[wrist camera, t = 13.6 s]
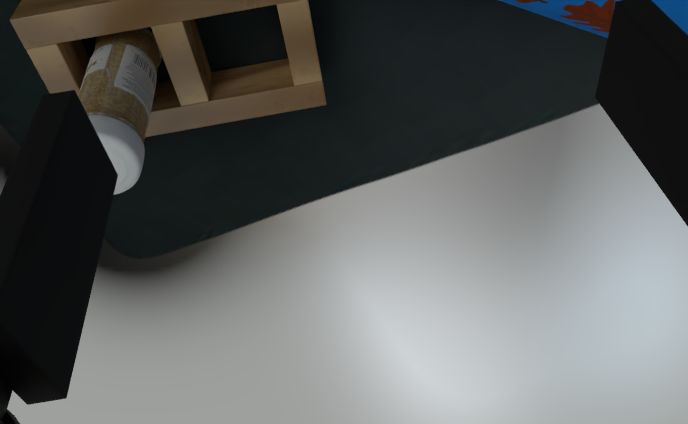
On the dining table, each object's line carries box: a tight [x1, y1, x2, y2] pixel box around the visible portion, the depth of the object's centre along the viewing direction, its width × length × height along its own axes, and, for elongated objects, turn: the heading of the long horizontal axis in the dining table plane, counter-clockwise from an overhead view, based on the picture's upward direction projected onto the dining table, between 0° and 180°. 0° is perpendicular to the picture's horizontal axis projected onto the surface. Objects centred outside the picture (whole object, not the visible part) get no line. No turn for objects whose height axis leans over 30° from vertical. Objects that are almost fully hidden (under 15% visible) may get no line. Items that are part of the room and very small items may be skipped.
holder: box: [10, 0, 327, 137], centre depth 42 cm, size 10×18×4 cm, turn 97°
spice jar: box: [78, 28, 162, 195], centre depth 38 cm, size 5×5×14 cm
